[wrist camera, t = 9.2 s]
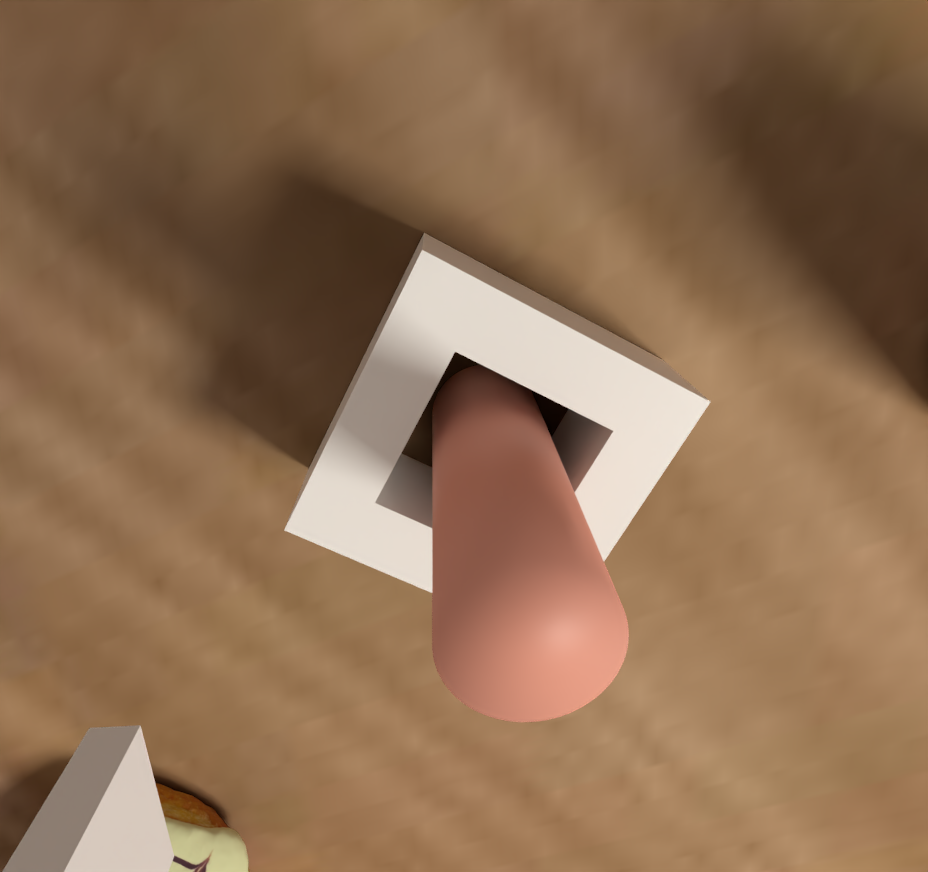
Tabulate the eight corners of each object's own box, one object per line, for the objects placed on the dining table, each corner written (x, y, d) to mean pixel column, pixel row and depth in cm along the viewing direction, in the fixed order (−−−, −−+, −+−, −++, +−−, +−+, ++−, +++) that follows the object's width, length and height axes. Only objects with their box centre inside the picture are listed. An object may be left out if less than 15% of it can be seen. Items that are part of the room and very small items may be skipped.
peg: (462, 346, 27) (490, 526, 14) (556, 393, 28) (666, 605, 15) (414, 437, 28) (398, 681, 15) (505, 479, 29) (565, 746, 16)
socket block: (424, 232, 25) (422, 249, 21) (663, 360, 27) (710, 401, 23) (308, 468, 28) (284, 530, 24) (531, 568, 30) (549, 642, 26)
